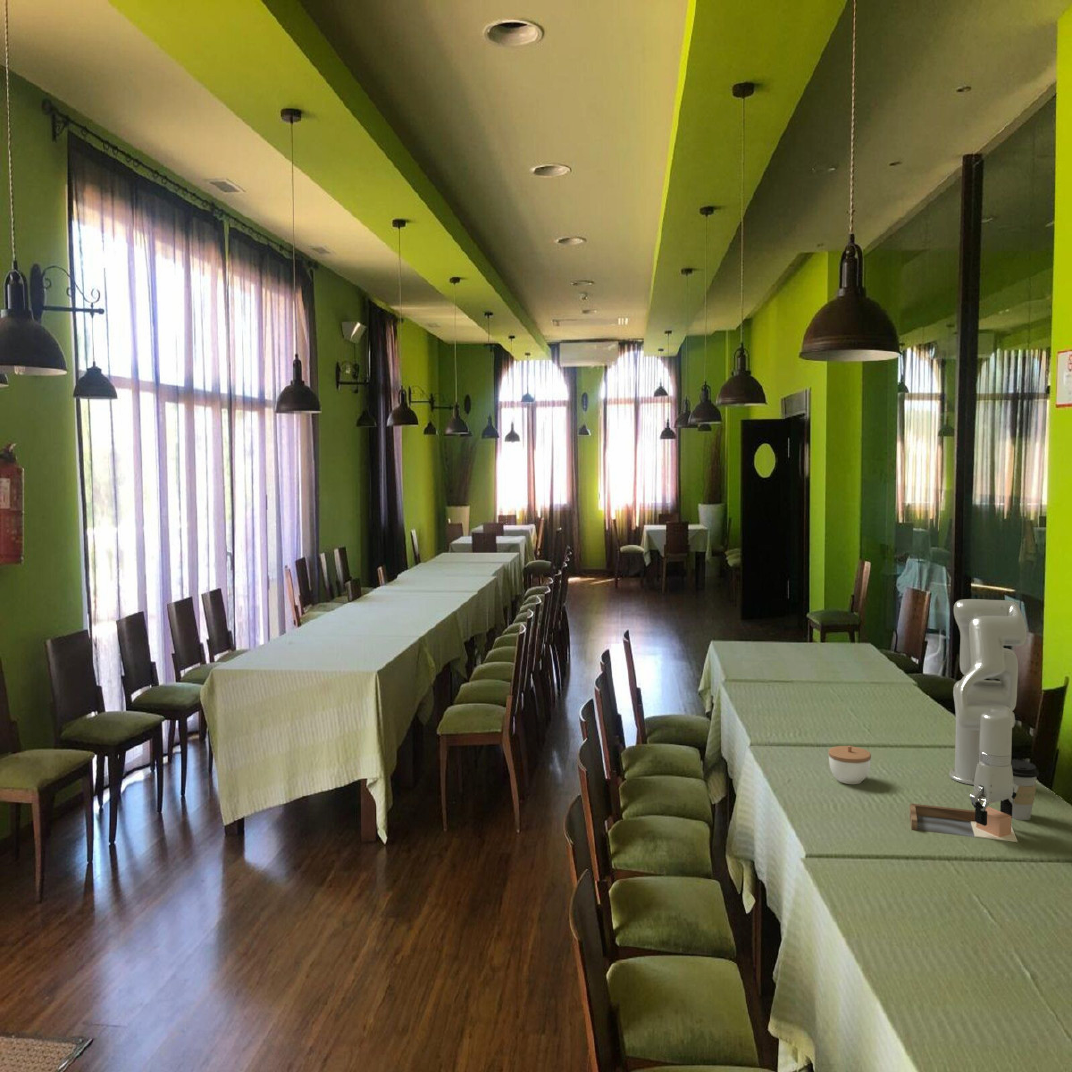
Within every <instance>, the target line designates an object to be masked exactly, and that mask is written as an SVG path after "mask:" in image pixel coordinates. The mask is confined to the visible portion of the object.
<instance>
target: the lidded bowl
mask: <svg viewBox="0 0 1072 1072" xmlns="http://www.w3.org/2000/svg"><path fill="white" fill-rule="evenodd" d="M871 759H872V753H871V752H870V751H868V750H867V749H865V748H863V747H857V746H852V745H837V746H833V747H831V748H829V749H828V763H829V767H830V768H829V769H830V771H831V772H832V775H833V776H834V777H835V778H836V780H837V781H838V782H840V783H842V784H845V785H859V784H862V781H863V780H865V779H866V778H867V777H868V776H869V773H870V769H871Z"/></svg>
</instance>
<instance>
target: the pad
mask: <svg viewBox="0 0 1072 1072" xmlns="http://www.w3.org/2000/svg"><path fill="white" fill-rule="evenodd" d="M971 825H972V829H973V832H974V836H975V837H974V838H978V837H979V839H986V838H987V840H988V839H989V840H994V839H996V840H995V841H1002V840H1004V842H1011V841H1012V843H1018V842H1017V840H1018V838H1017V836H1015V835H1016V833H1015V830H1014V828H1013V826H1012V825H1011V834H1010V835H1006V836H1002V837H997V836H995V835H993V834H990V833H988V832H986V831H983V830H981V829H979V828H977V827H976V822H974V821H971ZM1013 830H1014V831H1013ZM1016 838H1017V839H1016Z"/></svg>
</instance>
